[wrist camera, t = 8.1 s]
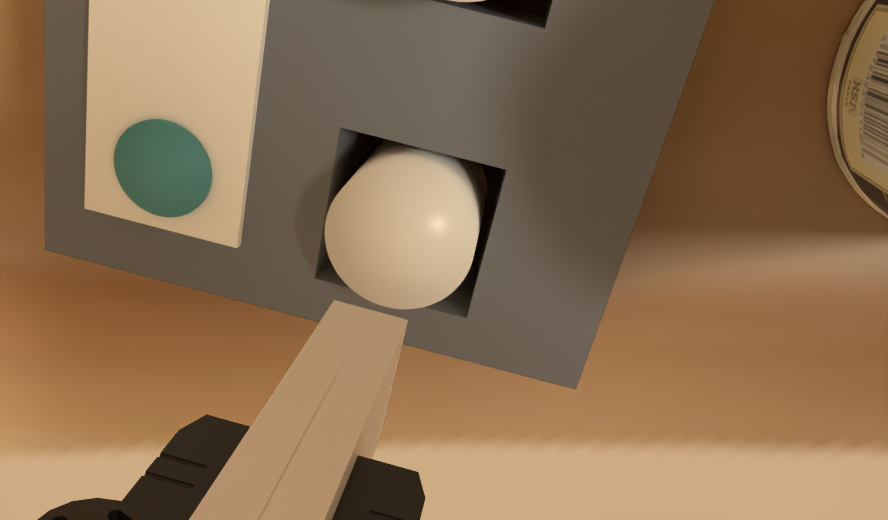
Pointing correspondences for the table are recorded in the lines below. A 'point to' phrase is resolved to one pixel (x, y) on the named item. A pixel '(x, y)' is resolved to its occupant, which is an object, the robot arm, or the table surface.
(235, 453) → the robot arm
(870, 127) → the coffee can
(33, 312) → the table surface
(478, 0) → the middle button
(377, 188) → the end button
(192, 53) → the button board
